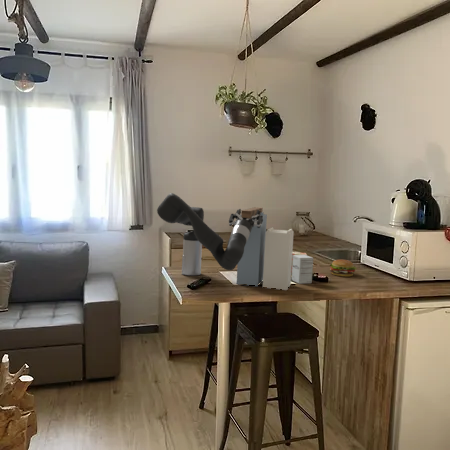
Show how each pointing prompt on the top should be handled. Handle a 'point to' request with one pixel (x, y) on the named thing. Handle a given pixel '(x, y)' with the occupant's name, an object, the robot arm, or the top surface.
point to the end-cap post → (278, 258)
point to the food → (342, 268)
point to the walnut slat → (250, 212)
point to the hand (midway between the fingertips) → (249, 211)
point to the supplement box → (302, 269)
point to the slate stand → (253, 256)
